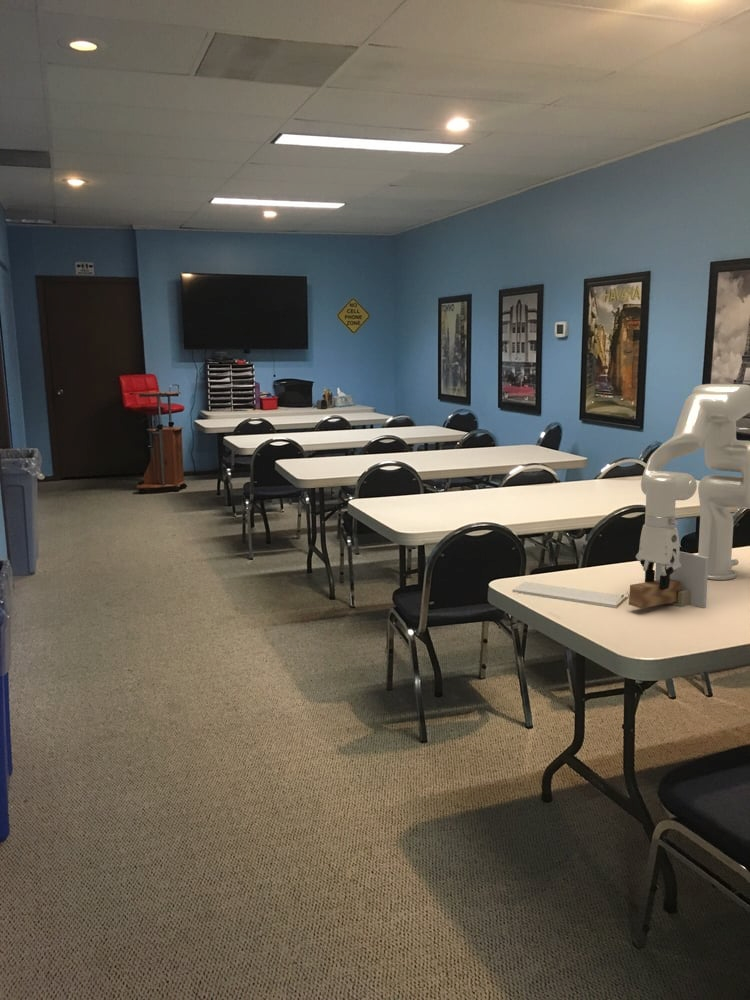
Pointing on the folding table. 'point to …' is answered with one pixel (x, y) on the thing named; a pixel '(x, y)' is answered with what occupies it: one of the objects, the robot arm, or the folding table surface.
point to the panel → (689, 579)
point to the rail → (653, 593)
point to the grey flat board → (571, 594)
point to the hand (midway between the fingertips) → (656, 586)
